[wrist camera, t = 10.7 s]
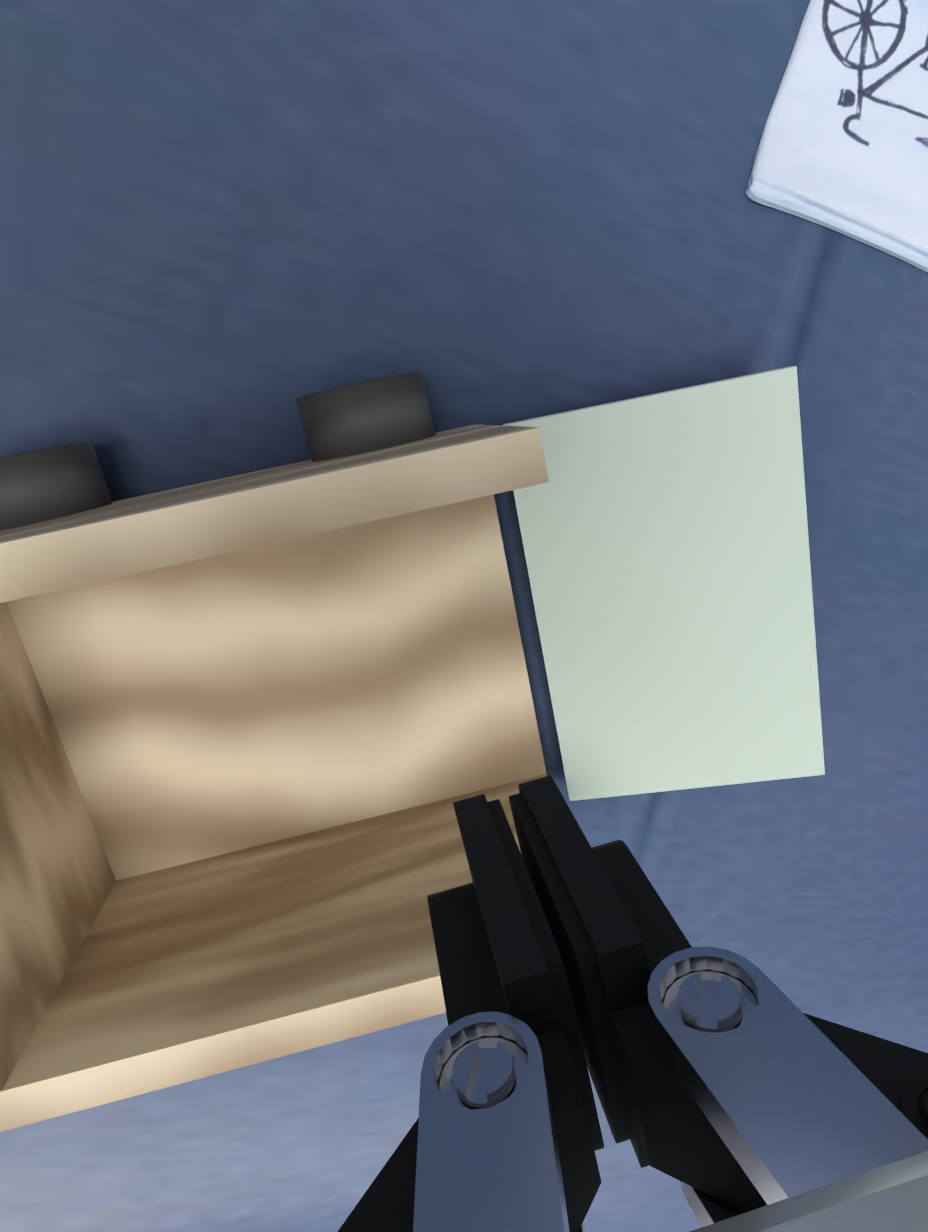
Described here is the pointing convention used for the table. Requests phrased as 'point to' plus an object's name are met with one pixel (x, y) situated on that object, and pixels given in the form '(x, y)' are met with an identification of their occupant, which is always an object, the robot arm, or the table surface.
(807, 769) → the panel
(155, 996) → the truck bed
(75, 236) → the table surface
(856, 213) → the open book
